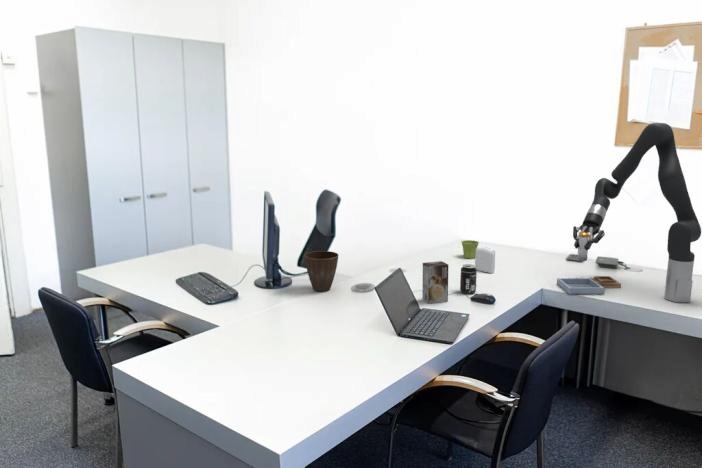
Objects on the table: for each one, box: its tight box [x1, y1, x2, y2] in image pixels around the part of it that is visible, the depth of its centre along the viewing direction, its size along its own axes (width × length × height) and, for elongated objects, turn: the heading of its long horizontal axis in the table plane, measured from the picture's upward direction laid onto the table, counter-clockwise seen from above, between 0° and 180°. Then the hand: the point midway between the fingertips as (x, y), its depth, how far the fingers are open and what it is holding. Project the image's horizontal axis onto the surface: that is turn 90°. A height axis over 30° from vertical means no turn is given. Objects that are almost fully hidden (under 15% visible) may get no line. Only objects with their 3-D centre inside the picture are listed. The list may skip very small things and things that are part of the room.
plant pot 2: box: [460, 239, 480, 260], centre depth 309 cm, size 9×9×9 cm
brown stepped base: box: [588, 275, 622, 289], centre depth 260 cm, size 10×10×3 cm
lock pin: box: [576, 231, 590, 262], centre depth 249 cm, size 4×4×12 cm
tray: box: [556, 277, 606, 296], centre depth 253 cm, size 15×15×3 cm
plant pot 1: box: [304, 250, 339, 293], centre depth 254 cm, size 15×15×16 cm
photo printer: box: [474, 245, 496, 274], centre depth 282 cm, size 10×4×12 cm, turn 39°
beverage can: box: [459, 263, 478, 295], centre depth 249 cm, size 7×7×12 cm
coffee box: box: [421, 260, 449, 304], centre depth 238 cm, size 9×6×16 cm
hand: (581, 248), depth 248 cm, fingers closed on lock pin, 4 cm apart
